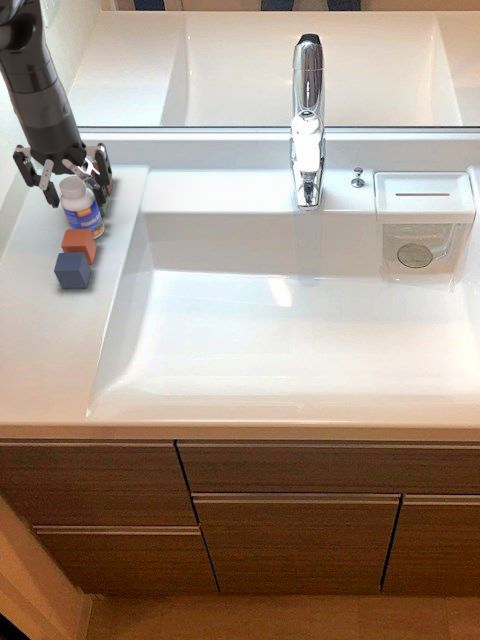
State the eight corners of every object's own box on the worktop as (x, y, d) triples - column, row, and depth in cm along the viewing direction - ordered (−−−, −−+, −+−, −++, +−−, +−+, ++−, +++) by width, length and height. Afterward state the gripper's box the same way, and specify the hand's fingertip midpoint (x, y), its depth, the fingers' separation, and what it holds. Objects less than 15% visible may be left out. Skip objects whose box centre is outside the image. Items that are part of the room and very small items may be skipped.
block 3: (88, 195, 114) (81, 176, 111) (92, 181, 116) (85, 162, 113) (110, 195, 114) (104, 176, 111) (113, 181, 116) (107, 162, 113)
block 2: (62, 288, 101) (53, 270, 98) (67, 270, 104) (58, 252, 100) (86, 288, 101) (79, 270, 98) (91, 270, 104) (83, 252, 100)
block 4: (82, 216, 111) (75, 197, 108) (86, 201, 113) (79, 182, 110) (105, 215, 111) (98, 196, 108) (108, 200, 113) (102, 181, 110)
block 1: (68, 264, 104) (60, 246, 101) (73, 247, 107) (65, 229, 103) (92, 264, 104) (85, 245, 101) (97, 247, 107) (90, 228, 103)
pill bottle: (90, 245, 107) (72, 198, 99) (67, 234, 108) (47, 187, 100) (111, 227, 109) (95, 179, 101) (88, 216, 111) (70, 168, 103)
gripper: (98, 94, 92) (126, 188, 106) (0, 96, 93) (41, 190, 106) (88, 124, 88) (119, 218, 102) (-14, 126, 88) (30, 220, 102)
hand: (79, 204), depth 104 cm, fingers open, 7 cm apart
